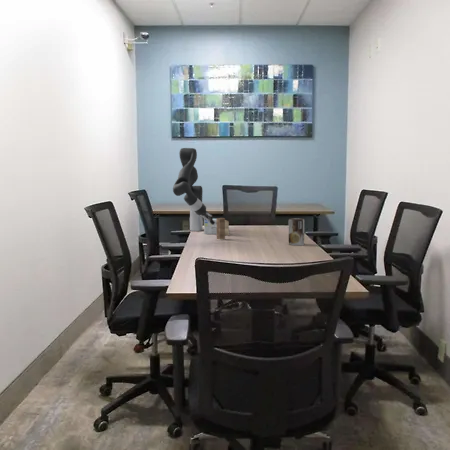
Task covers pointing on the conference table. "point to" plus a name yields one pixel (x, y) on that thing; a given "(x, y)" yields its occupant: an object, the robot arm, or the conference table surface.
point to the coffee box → (296, 231)
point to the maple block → (226, 227)
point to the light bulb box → (210, 227)
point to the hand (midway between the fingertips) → (213, 223)
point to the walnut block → (220, 228)
